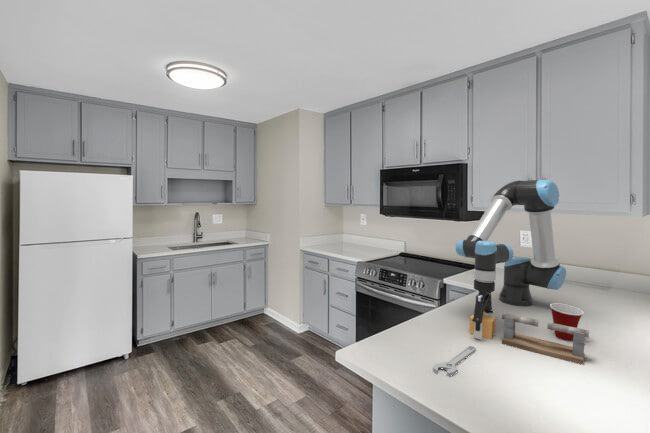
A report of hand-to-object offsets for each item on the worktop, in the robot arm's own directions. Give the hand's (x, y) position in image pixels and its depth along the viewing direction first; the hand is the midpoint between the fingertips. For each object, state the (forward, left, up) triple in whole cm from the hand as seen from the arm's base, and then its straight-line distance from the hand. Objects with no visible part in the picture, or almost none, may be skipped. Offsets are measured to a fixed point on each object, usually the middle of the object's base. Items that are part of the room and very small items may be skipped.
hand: (482, 333), depth 132 cm
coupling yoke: (0, 0, 0) cm, 0 cm away
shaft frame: (0, +20, 0) cm, 20 cm away
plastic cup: (-17, +26, 0) cm, 31 cm away
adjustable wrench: (+29, 0, -1) cm, 29 cm away
